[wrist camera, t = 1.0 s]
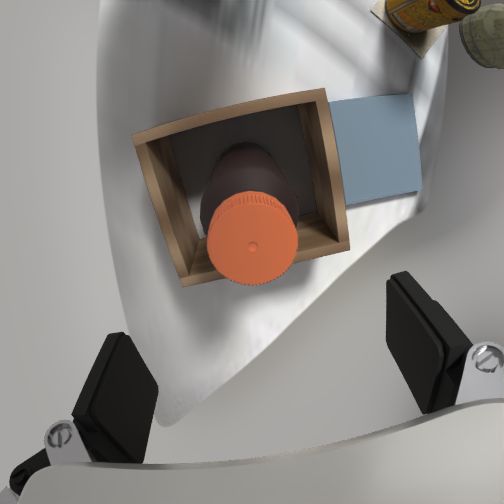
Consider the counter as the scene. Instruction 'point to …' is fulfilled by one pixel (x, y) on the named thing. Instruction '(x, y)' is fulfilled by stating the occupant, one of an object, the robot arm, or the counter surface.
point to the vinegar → (249, 216)
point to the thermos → (485, 35)
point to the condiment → (423, 18)
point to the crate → (177, 208)
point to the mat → (376, 146)
